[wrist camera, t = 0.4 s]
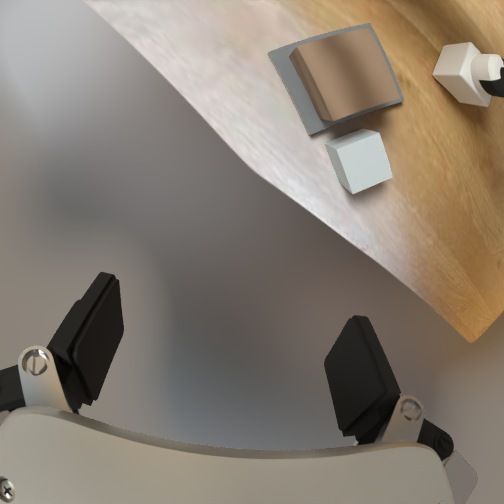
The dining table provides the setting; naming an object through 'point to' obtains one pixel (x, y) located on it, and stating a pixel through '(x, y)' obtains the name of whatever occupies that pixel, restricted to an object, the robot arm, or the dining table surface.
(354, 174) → the blue-grey block
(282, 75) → the slate board
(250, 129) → the dining table surface
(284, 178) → the dining table surface
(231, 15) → the dining table surface
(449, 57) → the medicine bottle
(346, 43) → the walnut block
